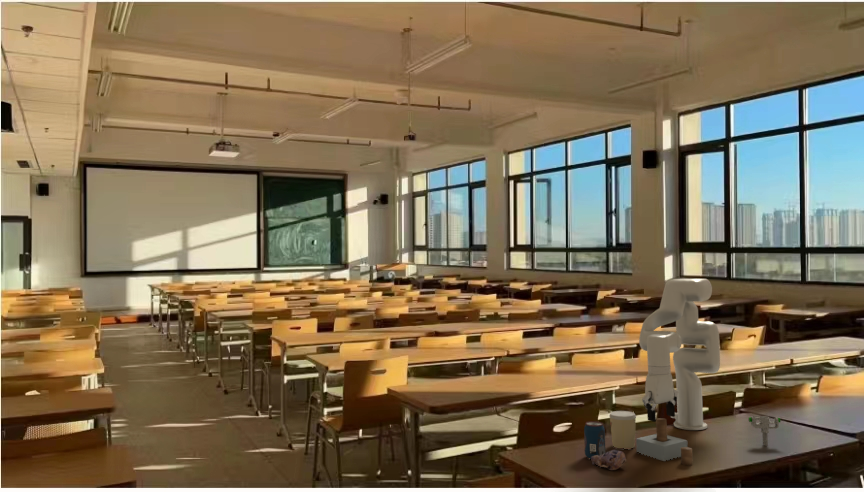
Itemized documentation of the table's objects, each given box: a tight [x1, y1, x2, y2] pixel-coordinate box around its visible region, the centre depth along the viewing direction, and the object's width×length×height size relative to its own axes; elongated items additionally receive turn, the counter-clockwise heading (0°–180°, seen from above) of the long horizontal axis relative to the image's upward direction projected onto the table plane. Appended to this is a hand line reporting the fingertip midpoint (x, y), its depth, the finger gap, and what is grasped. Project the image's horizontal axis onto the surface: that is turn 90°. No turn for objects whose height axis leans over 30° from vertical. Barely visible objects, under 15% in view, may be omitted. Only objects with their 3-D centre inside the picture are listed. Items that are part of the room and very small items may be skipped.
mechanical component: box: [748, 415, 781, 447], centre depth 236 cm, size 3×10×10 cm, turn 78°
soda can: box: [583, 420, 606, 460], centre depth 227 cm, size 7×7×12 cm
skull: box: [591, 449, 627, 471], centre depth 217 cm, size 12×8×6 cm, turn 40°
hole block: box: [635, 433, 689, 462], centre depth 229 cm, size 12×12×5 cm
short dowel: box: [680, 446, 694, 466], centre depth 218 cm, size 4×4×5 cm
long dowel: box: [655, 417, 668, 442], centre depth 229 cm, size 4×4×12 cm
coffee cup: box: [609, 410, 637, 450], centre depth 239 cm, size 9×9×12 cm
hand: (661, 418), depth 230 cm, fingers open, 9 cm apart
